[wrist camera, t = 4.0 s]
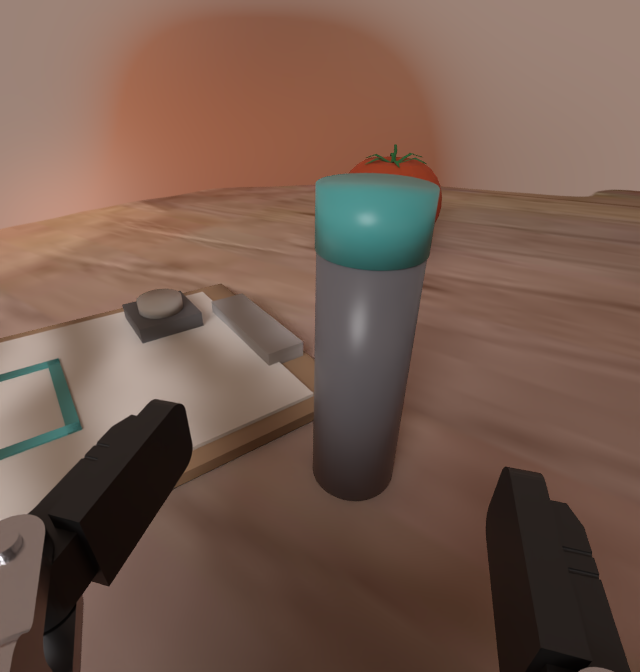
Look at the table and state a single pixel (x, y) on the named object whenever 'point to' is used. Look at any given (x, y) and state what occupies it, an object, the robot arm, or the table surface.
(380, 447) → the marker
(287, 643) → the table surface
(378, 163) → the tomato
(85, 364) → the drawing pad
